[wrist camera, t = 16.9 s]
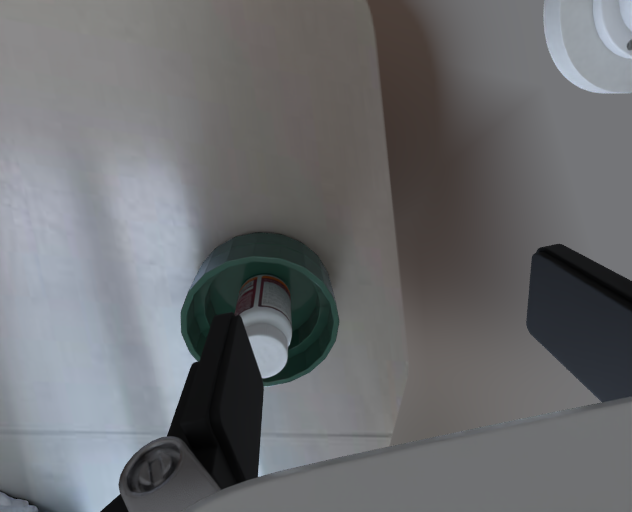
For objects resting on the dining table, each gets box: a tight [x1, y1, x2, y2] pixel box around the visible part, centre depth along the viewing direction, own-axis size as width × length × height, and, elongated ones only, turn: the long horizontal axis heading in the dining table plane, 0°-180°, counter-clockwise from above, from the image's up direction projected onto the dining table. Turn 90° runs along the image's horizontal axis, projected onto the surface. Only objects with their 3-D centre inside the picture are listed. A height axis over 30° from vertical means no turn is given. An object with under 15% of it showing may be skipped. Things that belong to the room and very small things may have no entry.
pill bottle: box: [234, 274, 292, 378], centre depth 37 cm, size 6×6×11 cm
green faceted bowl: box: [181, 232, 339, 386], centre depth 39 cm, size 16×16×7 cm
